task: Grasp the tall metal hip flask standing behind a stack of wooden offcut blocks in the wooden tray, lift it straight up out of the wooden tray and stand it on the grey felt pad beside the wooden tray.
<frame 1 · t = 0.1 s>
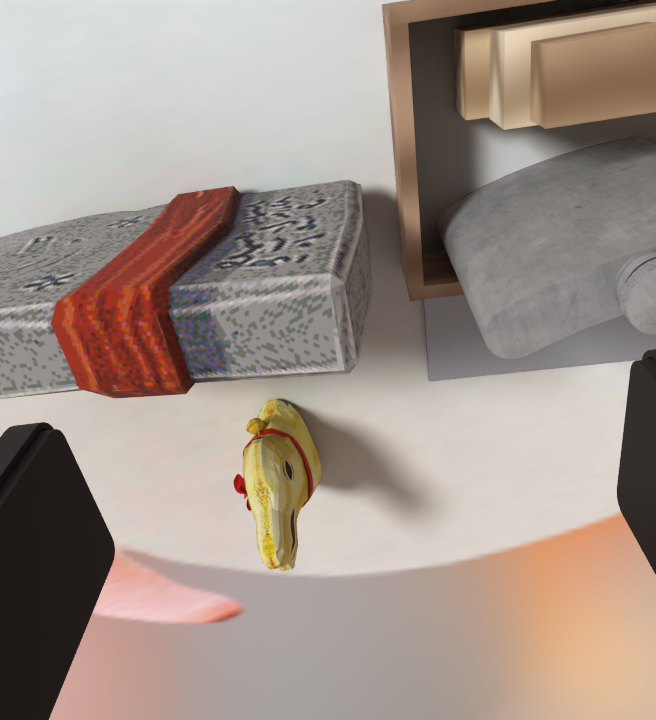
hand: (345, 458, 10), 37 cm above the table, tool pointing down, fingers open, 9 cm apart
hip flask: (541, 186, 44), resting in wooden tray
wooden tray: (544, 129, 42), on the table
decorative stone tablet: (170, 233, 47), on the table
chocolate bunny: (279, 433, 56), on the table
offcut base: (546, 57, 40), resting in wooden tray, touching offcut mid
felt pad: (548, 319, 49), on the table
offcut top: (586, 72, 33), point 8 cm above the table
offcut mid: (564, 64, 37), point 4 cm above the table, touching offcut base
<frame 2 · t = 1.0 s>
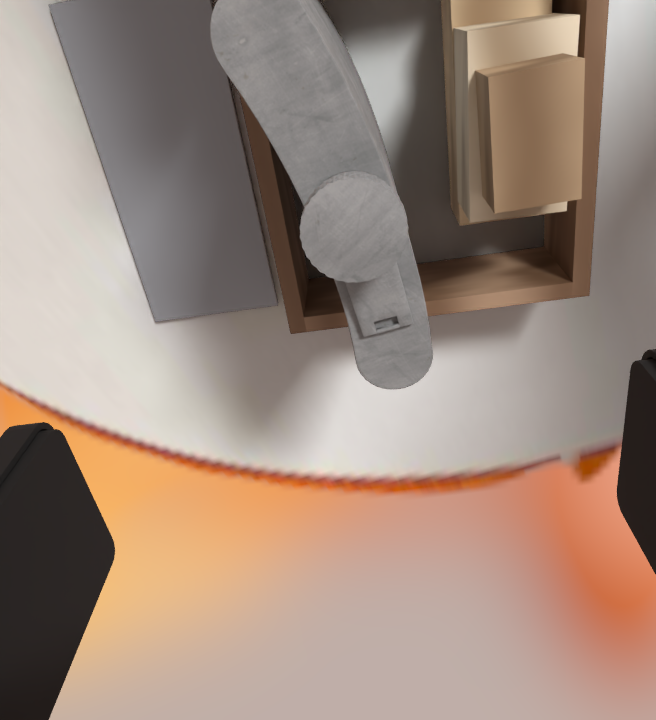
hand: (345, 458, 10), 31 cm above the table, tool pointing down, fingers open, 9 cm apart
hip flask: (346, 126, 37), resting in wooden tray
wooden tray: (412, 116, 37), on the table
offcut base: (487, 103, 36), resting in wooden tray, touching offcut mid
felt pad: (178, 171, 39), on the table
offcut top: (520, 128, 30), point 8 cm above the table
offcut mid: (502, 114, 33), point 4 cm above the table, touching offcut base
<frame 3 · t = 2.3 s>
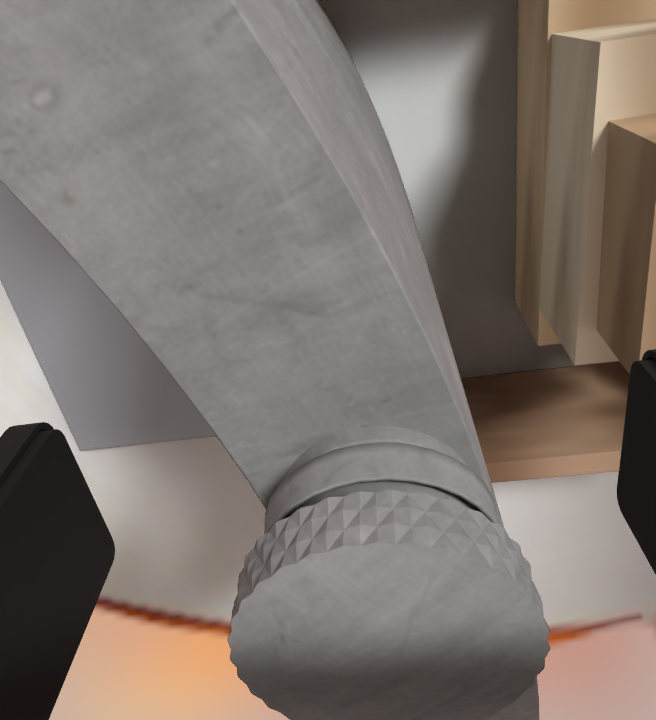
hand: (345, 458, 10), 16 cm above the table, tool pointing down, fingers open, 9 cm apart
hip flask: (354, 186, 24), resting in wooden tray
wooden tray: (457, 173, 23), on the table
offcut base: (581, 152, 23), resting in wooden tray, touching offcut mid
felt pad: (98, 249, 25), on the table
offcut mid: (623, 177, 20), point 4 cm above the table, touching offcut base, offcut top
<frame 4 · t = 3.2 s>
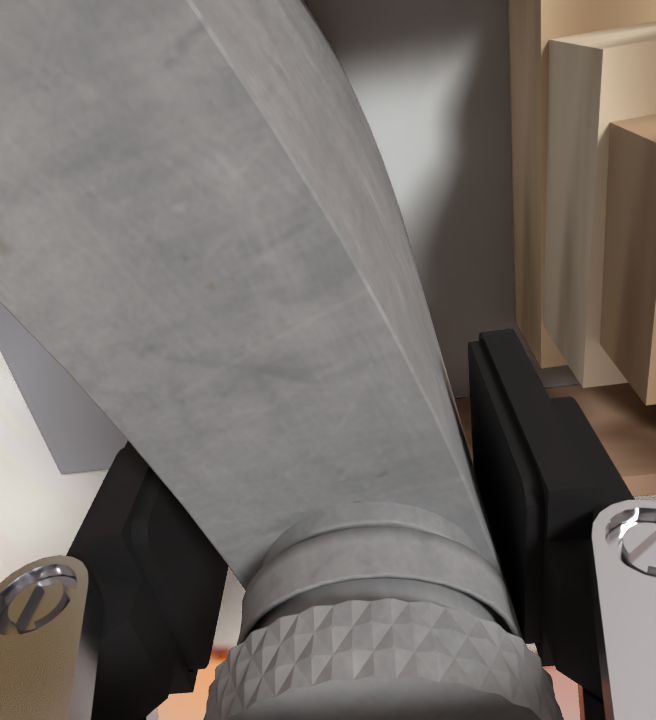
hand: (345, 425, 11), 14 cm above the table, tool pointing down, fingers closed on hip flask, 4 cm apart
hip flask: (346, 202, 23), resting in wooden tray, touching gripper
wooden tray: (451, 188, 22), on the table
offcut base: (579, 165, 22), resting in wooden tray, touching offcut mid
felt pad: (78, 267, 24), on the table
offcut mid: (628, 186, 19), point 4 cm above the table, touching offcut base, offcut top
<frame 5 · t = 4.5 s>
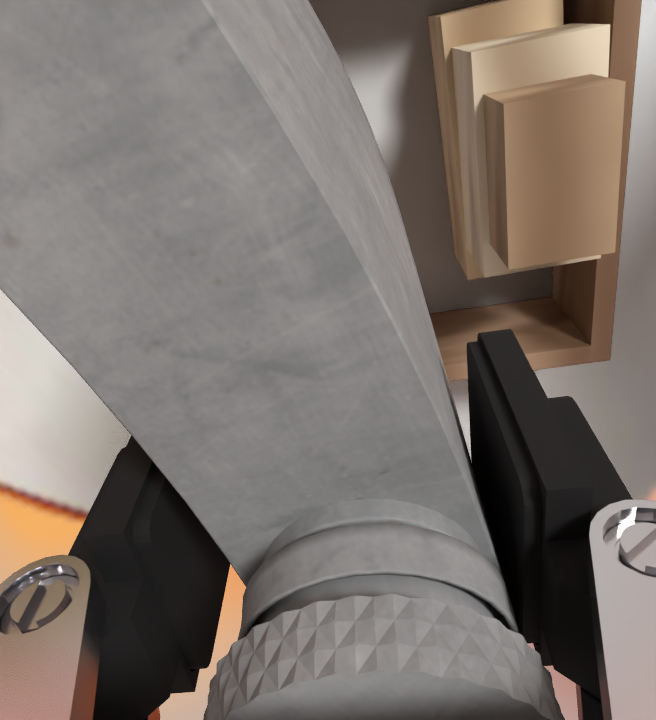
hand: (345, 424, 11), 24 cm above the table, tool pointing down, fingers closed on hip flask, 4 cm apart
hip flask: (346, 201, 23), point 9 cm above the table, touching gripper
wooden tray: (400, 151, 31), on the table
offcut base: (489, 135, 31), resting in wooden tray
offcut top: (537, 164, 24), point 8 cm above the table, touching offcut mid
offcut mid: (514, 145, 28), point 4 cm above the table, touching offcut top
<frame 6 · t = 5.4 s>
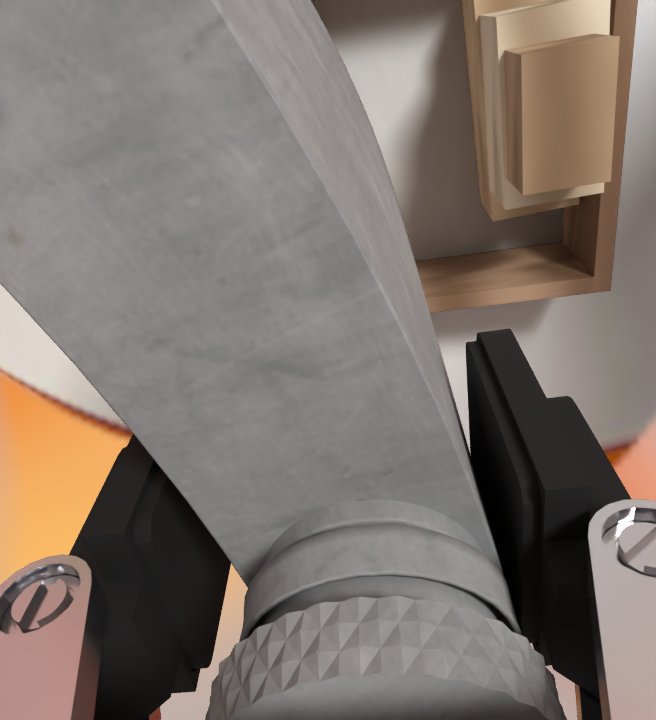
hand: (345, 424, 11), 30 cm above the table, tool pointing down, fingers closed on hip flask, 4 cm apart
hip flask: (346, 201, 23), point 16 cm above the table, touching gripper
wooden tray: (433, 110, 37), on the table
offcut base: (512, 97, 36), resting in wooden tray
offcut top: (548, 110, 29), point 8 cm above the table, touching offcut mid
offcut mid: (531, 99, 33), point 4 cm above the table, touching offcut top
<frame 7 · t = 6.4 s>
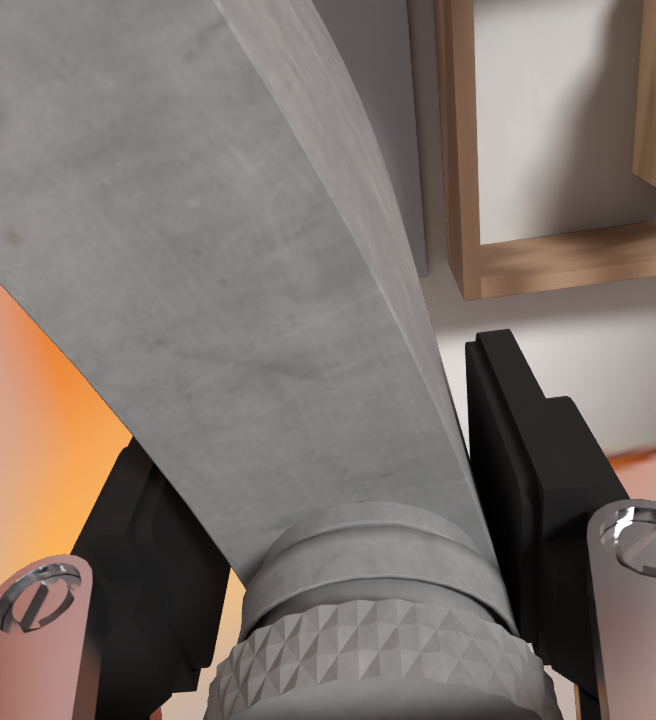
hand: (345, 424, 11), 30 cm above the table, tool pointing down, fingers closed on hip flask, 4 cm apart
hip flask: (346, 202, 23), point 16 cm above the table, touching gripper
wooden tray: (596, 71, 35), on the table
felt pad: (340, 130, 37), on the table
when the fingers open (15 cm above the table, at t = 9.3 s): hip flask stays where it is, resting on felt pad.
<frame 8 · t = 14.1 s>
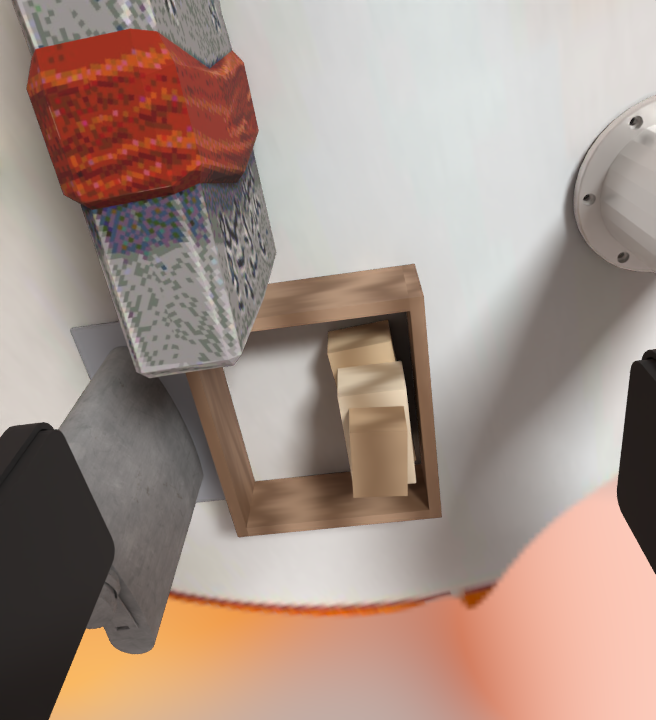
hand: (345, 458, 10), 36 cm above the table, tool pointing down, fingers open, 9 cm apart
hip flask: (163, 418, 54), resting on felt pad
wooden tray: (321, 390, 53), on the table
decorative stone tablet: (192, 39, 39), on the table
offcut base: (372, 383, 53), resting in wooden tray, touching offcut mid
felt pad: (159, 418, 55), on the table
offcut top: (377, 439, 46), point 8 cm above the table, touching offcut mid
offcut mid: (376, 411, 49), point 4 cm above the table, touching offcut base, offcut top
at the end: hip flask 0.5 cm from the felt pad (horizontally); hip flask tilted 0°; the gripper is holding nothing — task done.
